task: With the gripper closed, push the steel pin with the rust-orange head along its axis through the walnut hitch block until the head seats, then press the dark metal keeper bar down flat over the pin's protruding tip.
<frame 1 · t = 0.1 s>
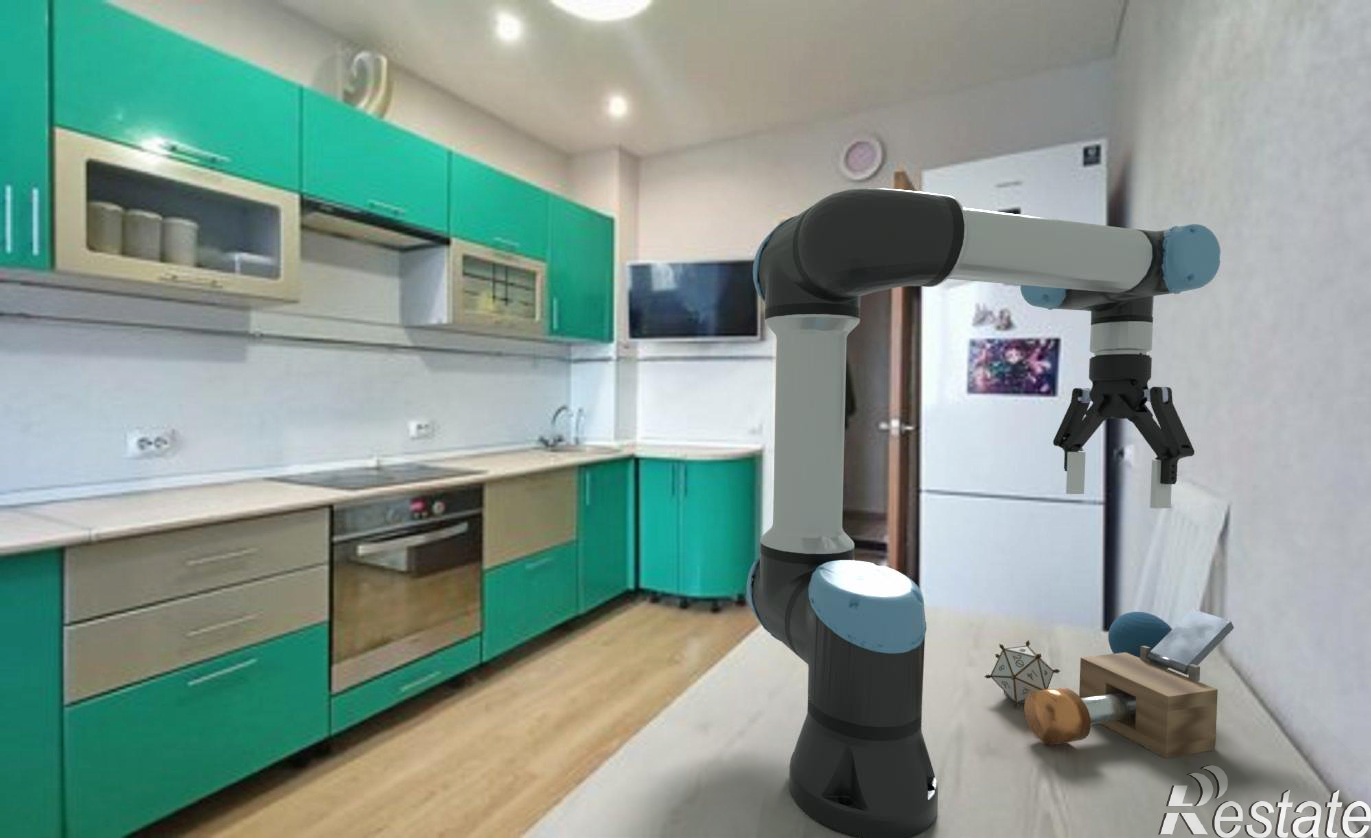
hand: (1114, 500, 95), 28 cm above the table, fingers open, 13 cm apart
pin: (1094, 709, 81), point 4 cm above the table, slide at -8.0 cm
hitch block: (1143, 729, 84), on the table
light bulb: (1140, 696, 94), on the table
game die: (1020, 703, 91), on the table
keeper: (1189, 641, 86), point 11 cm above the table, hinge at 35.0°
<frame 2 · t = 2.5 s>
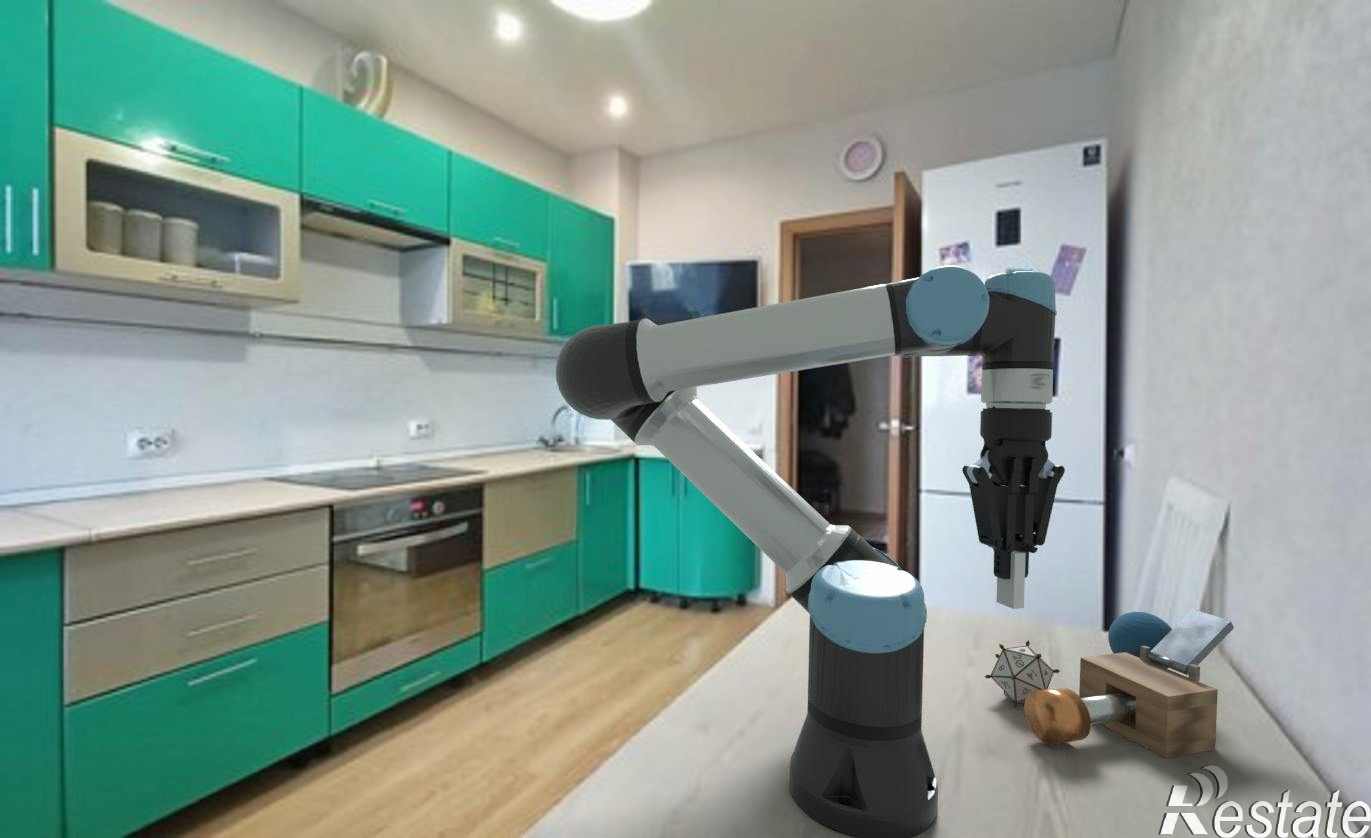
hand: (1009, 604, 77), 18 cm above the table, fingers closed
nothing on the table moved.
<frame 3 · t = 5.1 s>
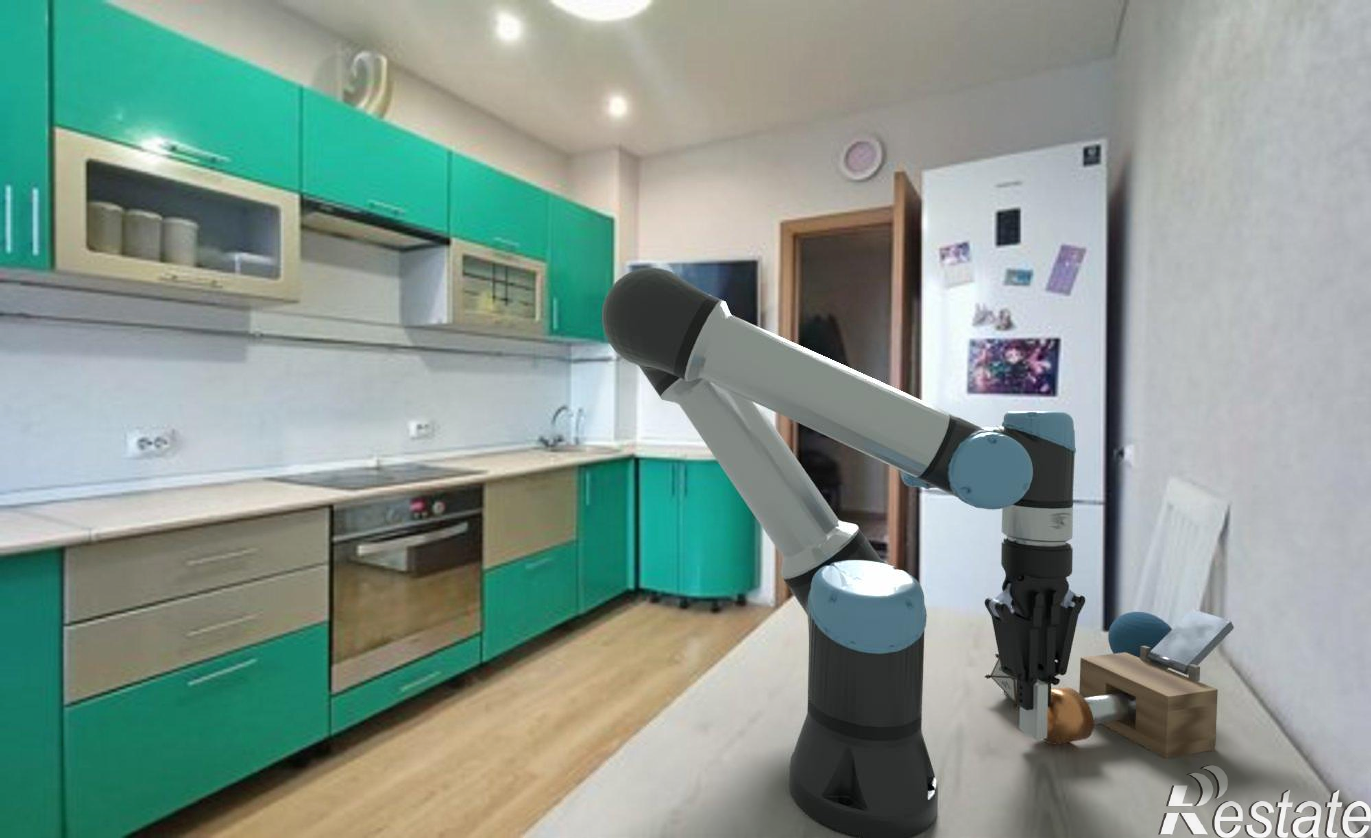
hand: (1033, 733, 78), 2 cm above the table, fingers closed
pin: (1097, 709, 82), point 3 cm above the table, slide at -7.6 cm, touching gripper
everything else where it was.
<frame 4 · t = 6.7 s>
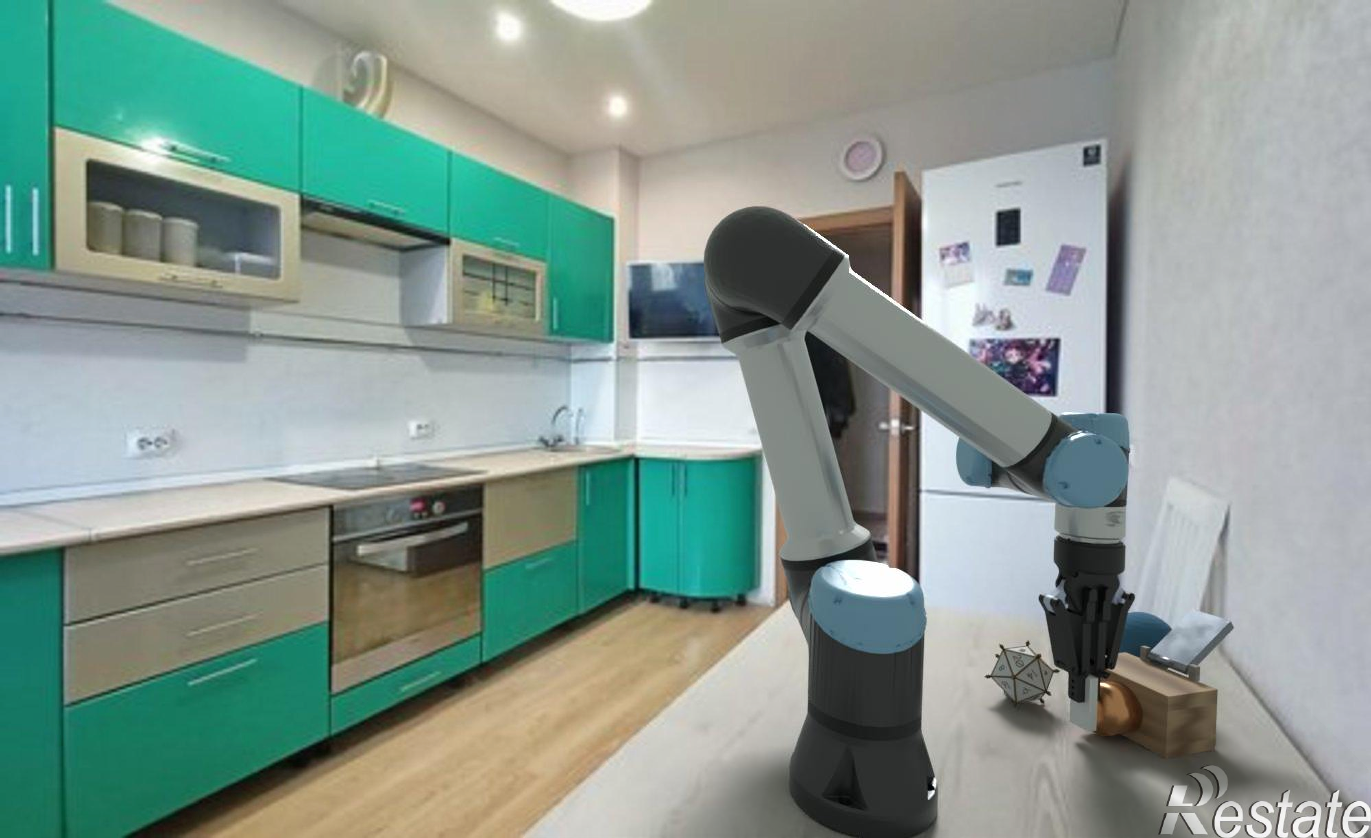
hand: (1082, 725, 81), 2 cm above the table, fingers closed
pin: (1144, 702, 84), point 4 cm above the table, slide at 0.1 cm, touching gripper, hitch block
everything else where it was.
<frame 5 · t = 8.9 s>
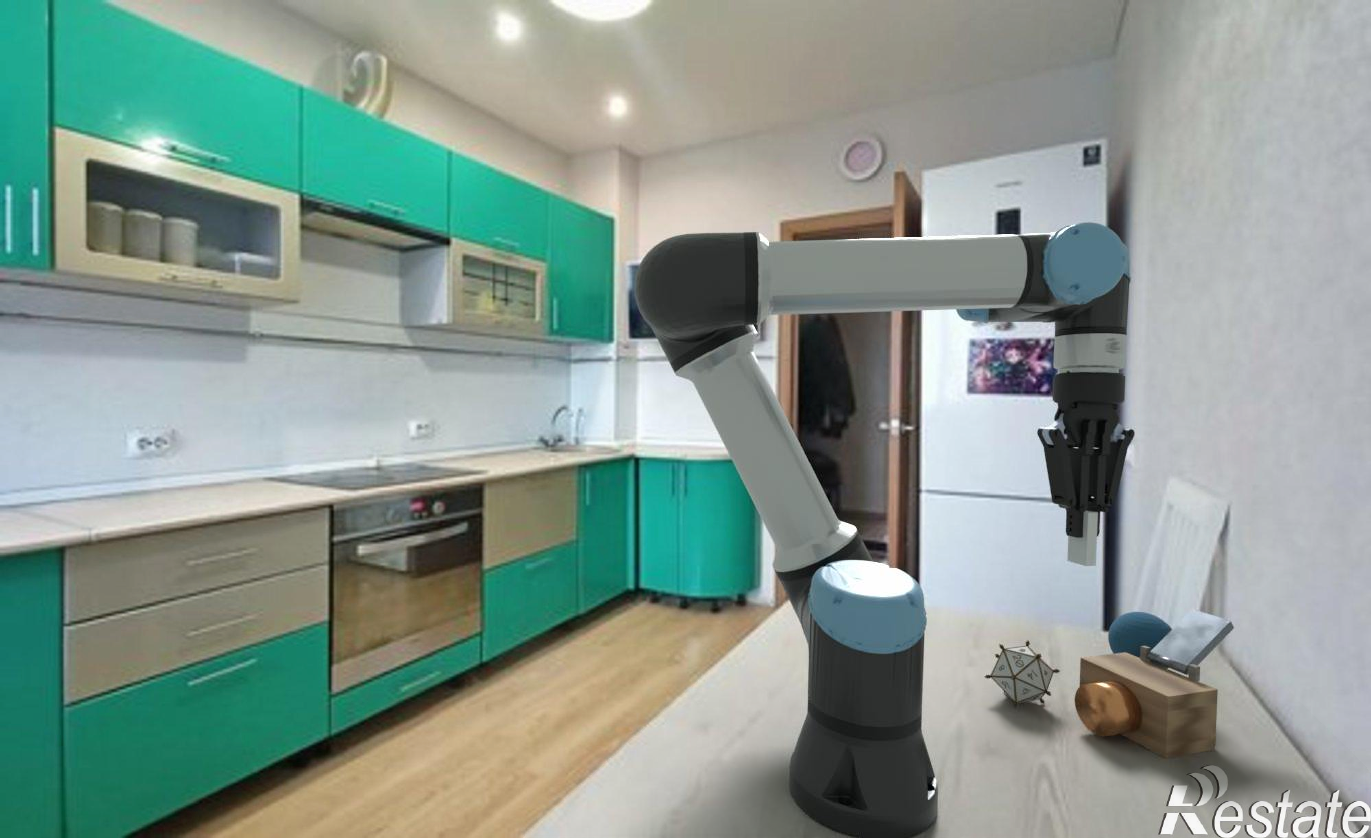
hand: (1081, 562, 80), 22 cm above the table, fingers closed
pin: (1143, 702, 84), point 4 cm above the table, slide at 0.0 cm
everything else where it was.
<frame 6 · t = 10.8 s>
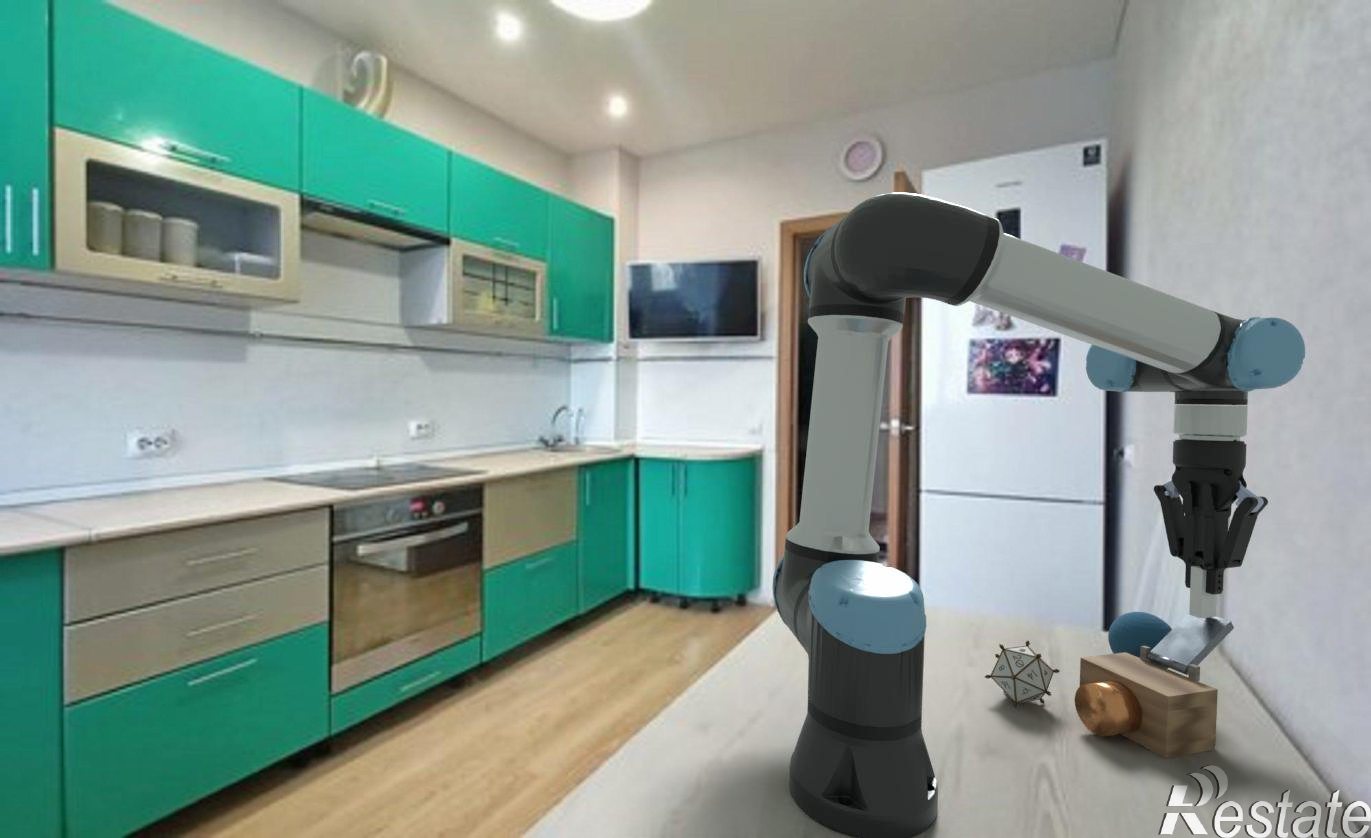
hand: (1202, 615, 86), 14 cm above the table, fingers closed
keeper: (1189, 641, 86), point 11 cm above the table, hinge at 35.0°, touching gripper
everything else where it was.
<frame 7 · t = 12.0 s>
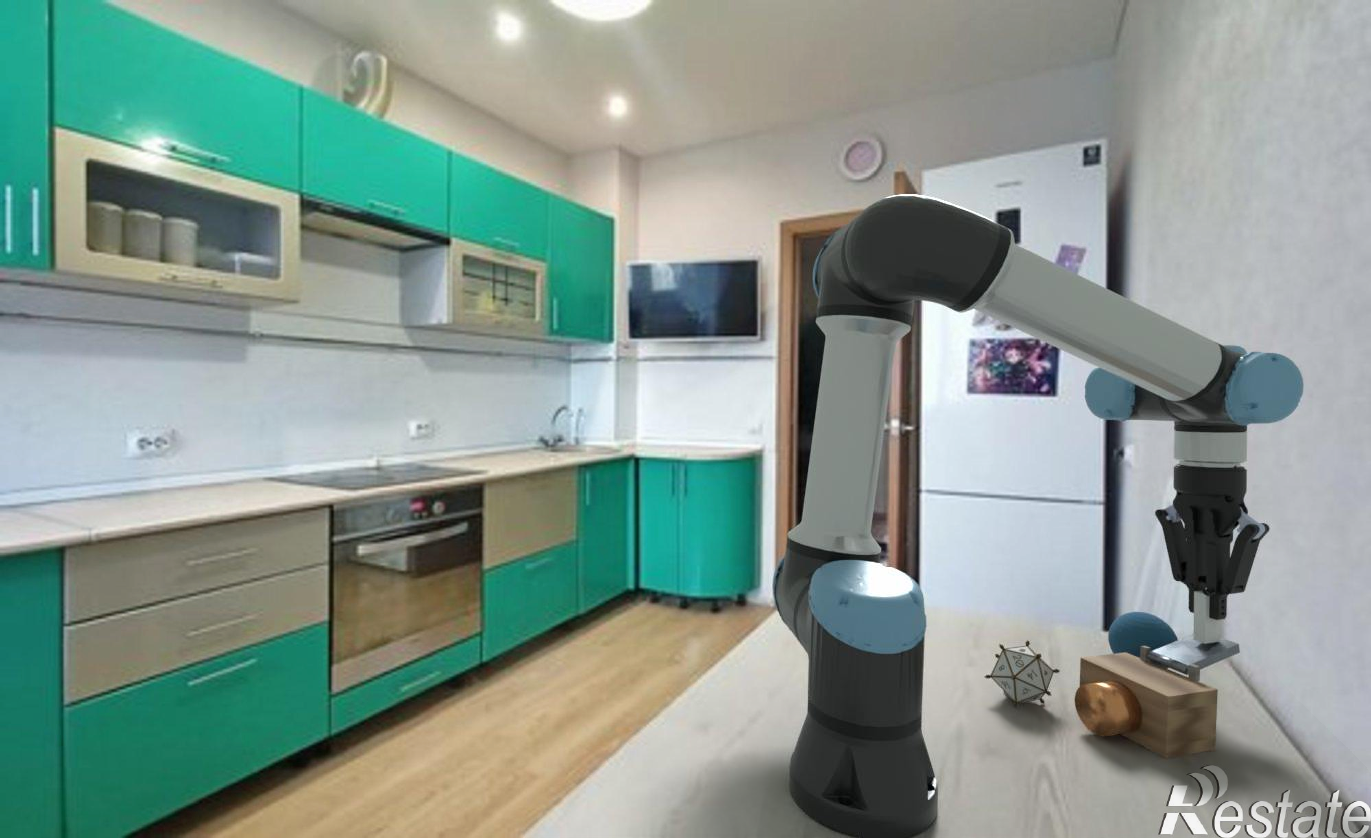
hand: (1206, 640, 86), 11 cm above the table, fingers closed
keeper: (1193, 652, 86), point 9 cm above the table, hinge at 12.6°, touching gripper
everything else where it was.
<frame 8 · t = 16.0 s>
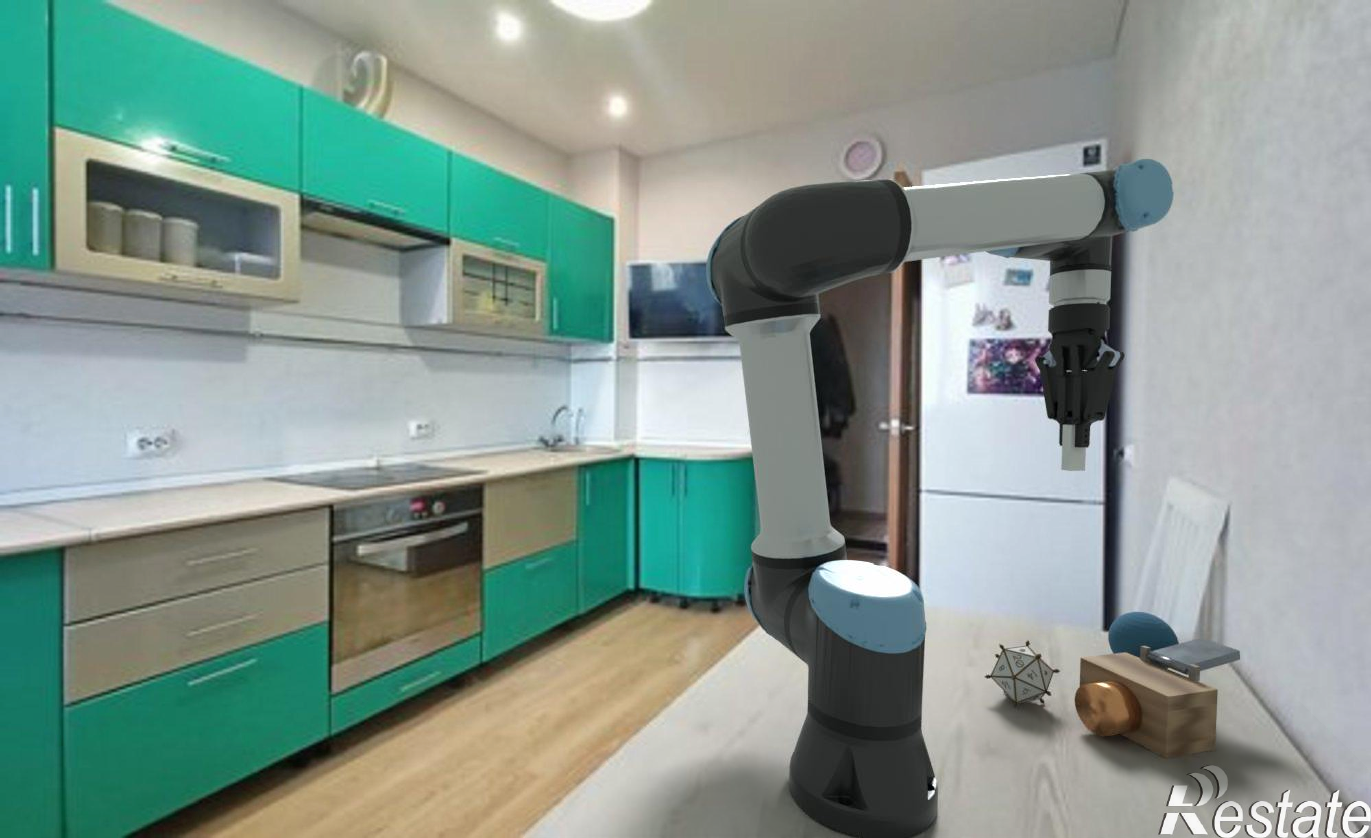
hand: (1073, 469, 93), 32 cm above the table, fingers closed
keeper: (1193, 655, 86), point 9 cm above the table, hinge at 6.8°
everything else where it was.
at the end: pin slide at 0.0 cm; keeper at +7° (first picture: +35°) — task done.
